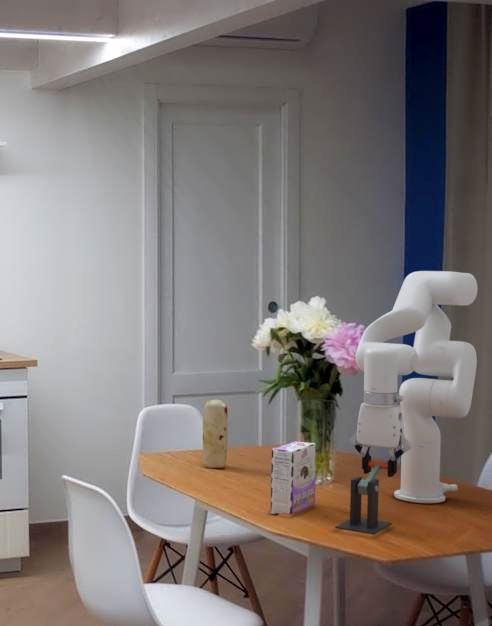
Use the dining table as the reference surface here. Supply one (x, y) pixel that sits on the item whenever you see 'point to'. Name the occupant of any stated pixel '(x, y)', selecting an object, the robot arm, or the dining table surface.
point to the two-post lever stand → (371, 523)
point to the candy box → (293, 477)
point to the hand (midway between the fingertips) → (379, 473)
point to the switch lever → (370, 476)
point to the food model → (215, 434)
